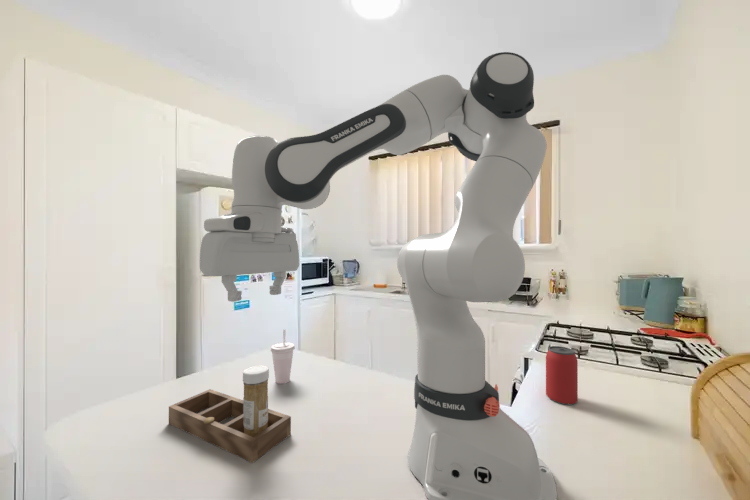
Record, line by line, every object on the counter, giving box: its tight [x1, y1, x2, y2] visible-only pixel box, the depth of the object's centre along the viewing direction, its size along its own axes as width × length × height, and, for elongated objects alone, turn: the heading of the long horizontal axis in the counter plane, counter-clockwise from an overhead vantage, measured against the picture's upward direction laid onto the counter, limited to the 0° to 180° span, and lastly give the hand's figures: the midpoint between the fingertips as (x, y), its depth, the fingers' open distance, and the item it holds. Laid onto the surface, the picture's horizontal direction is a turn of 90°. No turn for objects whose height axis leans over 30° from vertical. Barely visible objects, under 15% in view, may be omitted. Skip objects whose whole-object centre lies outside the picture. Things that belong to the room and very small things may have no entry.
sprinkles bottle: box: [242, 365, 270, 437], centre depth 57 cm, size 5×5×14 cm
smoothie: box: [270, 328, 295, 385], centre depth 84 cm, size 6×6×14 cm
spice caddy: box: [168, 388, 292, 464], centre depth 61 cm, size 25×9×4 cm, turn 62°
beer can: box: [545, 345, 579, 406], centre depth 73 cm, size 7×7×12 cm
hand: (256, 297), depth 57 cm, fingers open, 8 cm apart
